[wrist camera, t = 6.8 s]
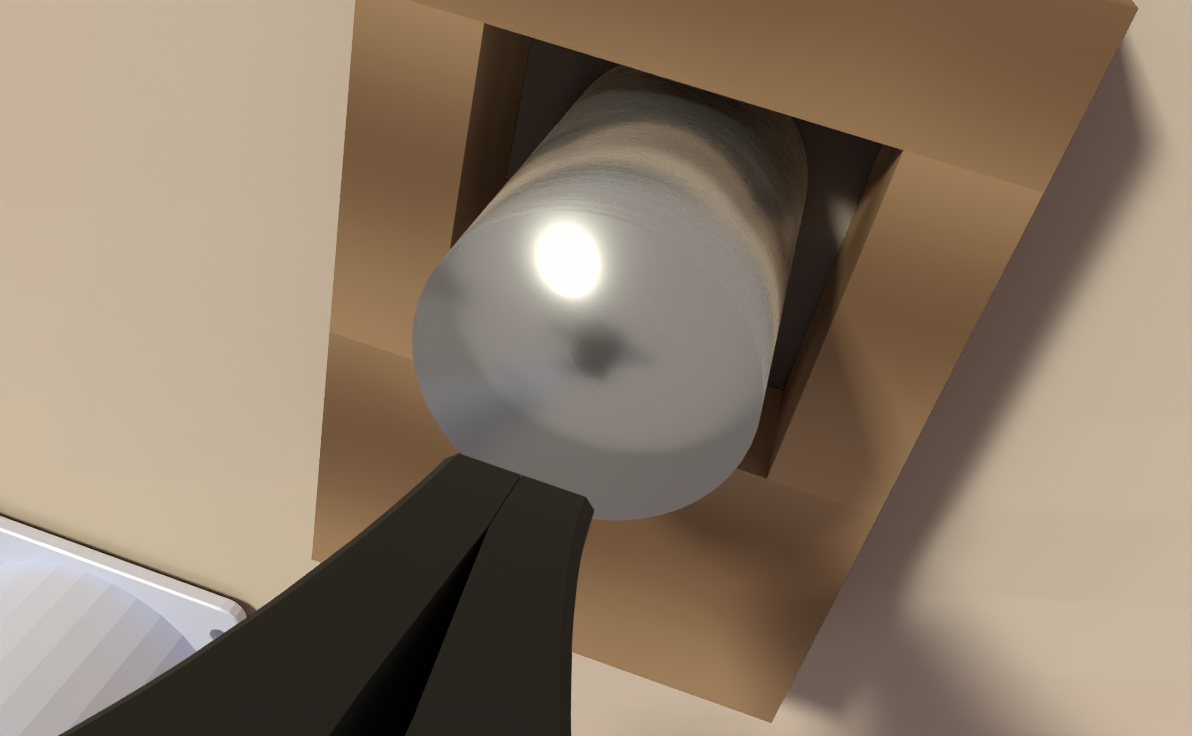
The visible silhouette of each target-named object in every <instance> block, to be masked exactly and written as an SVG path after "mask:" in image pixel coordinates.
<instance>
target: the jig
mask: <svg viewBox="0 0 1192 736" xmlns="http://www.w3.org/2000/svg"><path fill="white" fill-rule="evenodd" d="M1137 10H1138V8H1137V6H1136V5H1135V4H1134V2H1133V1H1132V0H356V2H355V15H354V28H353V40H352V53H351V66H350V79H349V92H348V104H347V117H346V130H345V143H344V155H343V168H342V181H341V194H340V206H339V219H338V232H337V245H336V258H335V270H334V283H333V296H332V309H331V321H330V334H329V347H328V360H327V372H326V385H325V398H324V411H323V424H322V436H321V449H320V462H319V475H318V487H317V500H316V513H315V526H314V538H313V551H312V559H313V560H316V561H319V562H321V563H322V562H323V561H325V560H326V559H327V558H329V557H330V556H331V555H333V554H334V553H335V552H336V551H338V550H339V549H340V548H342V547H343V546H344V545H346V544H347V543H348V542H350V541H351V540H352V539H353V538H355V537H356V536H357V535H358V534H359V533H361V532H362V531H363V530H364V529H366V528H367V527H368V526H369V525H370V524H372V523H373V522H374V521H375V520H377V519H378V518H379V517H380V516H381V515H383V514H384V513H385V512H386V511H387V510H389V509H390V508H391V507H392V506H393V505H394V504H396V503H397V502H398V501H399V500H400V499H401V498H403V497H404V496H405V495H406V494H407V493H408V492H409V491H411V490H412V489H413V488H414V487H415V486H416V485H417V484H418V483H420V482H421V481H422V480H423V479H424V478H425V477H426V476H427V475H428V474H429V473H431V472H432V471H433V470H434V469H435V468H436V467H437V466H438V465H439V464H440V463H441V462H442V461H443V460H444V459H445V458H448V457H450V456H453V455H455V454H458V453H460V452H459V451H458V450H457V449H456V447H455V446H454V445H453V444H452V443H451V442H450V440H449V439H448V438H447V436H446V435H445V434H444V432H443V431H442V430H441V428H440V427H439V425H438V424H437V422H436V420H435V418H434V417H433V415H432V413H431V412H430V410H429V408H428V406H427V403H426V401H425V399H424V397H423V394H422V392H421V389H420V386H419V382H418V379H417V376H416V373H415V367H414V360H413V354H412V329H413V321H414V314H415V311H416V307H417V304H418V300H419V297H420V295H421V292H422V290H423V288H424V286H425V284H426V282H427V280H428V278H429V277H430V275H431V274H432V272H433V271H434V269H435V268H436V266H437V265H438V264H439V262H440V261H441V260H442V259H443V257H444V256H445V255H446V254H447V253H448V252H449V250H450V249H451V248H452V247H453V246H454V244H455V243H456V242H457V241H458V240H459V239H460V237H461V236H462V235H463V234H464V233H465V232H466V230H467V229H468V228H469V227H470V226H471V224H472V223H473V222H474V221H475V220H476V219H477V217H478V216H479V215H480V214H481V213H482V212H483V210H484V209H485V208H486V207H487V206H488V204H489V203H490V202H491V201H492V200H493V199H494V197H495V196H496V195H497V194H498V193H499V191H500V190H501V189H502V188H503V187H504V185H505V180H506V174H507V169H508V163H509V157H510V152H511V146H512V141H513V135H514V129H515V124H516V118H517V113H518V107H519V102H520V96H521V90H522V85H523V79H524V74H525V68H526V62H527V57H528V51H529V46H530V40H531V37H532V38H535V39H538V40H542V41H545V42H548V43H552V44H555V45H558V46H562V47H565V48H568V49H571V50H575V51H578V52H581V53H585V54H588V55H591V56H595V57H598V58H601V59H604V60H608V61H611V62H614V63H618V64H621V65H624V66H627V67H631V68H634V69H637V70H641V71H644V72H647V73H651V74H654V75H657V76H660V77H664V78H667V79H670V80H674V81H677V82H680V83H684V84H687V85H690V86H693V87H697V88H700V89H703V90H707V91H710V92H713V93H716V94H720V95H723V96H726V97H730V98H733V99H736V100H740V101H743V102H746V103H749V104H753V105H756V106H759V107H763V108H766V109H769V110H773V111H776V112H779V113H782V114H786V115H789V116H792V117H796V118H799V119H802V120H805V121H809V122H812V123H815V124H819V125H822V126H825V127H829V128H832V129H835V130H838V131H842V132H845V133H848V134H852V135H855V136H858V137H862V138H865V139H868V140H871V141H875V142H878V143H881V144H882V146H881V148H880V151H879V153H878V156H877V158H876V161H875V163H874V166H873V168H872V171H871V173H870V176H869V178H868V181H867V183H866V186H865V188H864V191H863V193H862V196H861V198H860V201H859V203H858V206H857V208H856V211H855V213H854V216H853V218H852V220H851V223H850V225H849V228H848V230H847V233H846V235H845V238H844V240H843V243H842V245H841V248H840V250H839V253H838V255H837V258H836V260H835V263H834V265H833V268H832V270H831V273H830V275H829V278H828V280H827V283H826V285H825V288H824V290H823V293H822V295H821V298H820V300H819V303H818V305H817V308H816V310H815V313H814V315H813V318H812V320H811V323H810V325H809V328H808V330H807V333H806V335H805V337H804V340H803V342H802V345H801V347H800V350H799V352H798V355H797V357H796V360H795V362H794V365H793V367H792V370H791V372H790V375H789V377H788V380H787V382H786V385H785V387H784V390H783V391H782V390H779V389H776V388H773V387H770V386H767V387H766V392H765V396H764V401H763V406H762V411H761V415H760V420H759V425H758V428H757V431H756V434H755V436H754V439H753V441H752V444H751V446H750V448H749V450H748V451H747V453H746V455H745V456H744V458H743V460H742V461H741V463H740V464H739V465H738V466H737V468H736V469H735V470H734V471H733V472H732V474H731V475H730V476H729V477H728V478H727V479H726V480H725V481H724V482H722V483H721V484H720V485H719V486H718V487H717V488H716V489H715V490H713V491H712V492H710V493H709V494H707V495H706V496H704V497H703V498H701V499H700V500H698V501H696V502H694V503H692V504H689V505H687V506H685V507H683V508H681V509H678V510H675V511H672V512H669V513H666V514H663V515H659V516H654V517H649V518H644V519H634V520H622V521H619V520H596V519H592V521H591V524H590V528H589V531H588V535H587V538H586V541H585V545H584V548H583V552H582V556H581V561H580V568H579V575H578V581H577V591H576V600H575V610H574V621H573V638H572V652H574V653H577V654H579V655H582V656H585V657H588V658H591V659H593V660H596V661H599V662H602V663H605V664H607V665H610V666H613V667H616V668H619V669H621V670H624V671H627V672H630V673H633V674H635V675H638V676H641V677H644V678H647V679H649V680H652V681H655V682H658V683H661V684H663V685H666V686H669V687H672V688H675V689H677V690H680V691H683V692H686V693H689V694H691V695H694V696H697V697H700V698H703V699H706V700H708V701H711V702H714V703H717V704H720V705H722V706H725V707H728V708H731V709H734V710H736V711H739V712H742V713H745V714H748V715H750V716H753V717H756V718H759V719H762V720H764V721H767V722H770V723H772V721H773V719H774V717H775V715H776V713H777V711H778V709H779V707H780V705H781V703H782V701H783V699H784V697H785V695H786V693H787V691H788V690H789V688H790V686H791V684H792V682H793V680H794V678H795V676H796V674H797V672H798V670H799V668H800V666H801V664H802V662H803V660H804V658H805V656H806V655H807V653H808V651H809V649H810V647H811V645H812V643H813V641H814V639H815V637H816V635H817V633H818V631H819V629H820V627H821V625H822V623H823V621H824V619H825V618H826V616H827V614H828V612H829V610H830V608H831V606H832V604H833V602H834V600H835V598H836V596H837V594H838V592H839V590H840V588H841V586H842V584H843V583H844V581H845V579H846V577H847V575H848V573H849V571H850V569H851V567H852V565H853V563H854V561H855V559H856V557H857V555H858V553H859V551H860V549H861V548H862V546H863V544H864V542H865V540H866V538H867V536H868V534H869V532H870V530H871V528H872V526H873V524H874V522H875V520H876V518H877V516H878V514H879V512H880V511H881V509H882V507H883V505H884V503H885V501H886V499H887V497H888V495H889V493H890V491H891V489H892V487H893V485H894V483H895V481H896V479H897V477H898V476H899V474H900V472H901V470H902V468H903V466H904V464H905V462H906V460H907V458H908V456H909V454H910V452H911V450H912V448H913V446H914V444H915V442H916V440H917V439H918V437H919V435H920V433H921V431H922V429H923V427H924V425H925V423H926V421H927V419H928V417H929V415H930V413H931V411H932V409H933V407H934V405H935V404H936V402H937V400H938V398H939V396H940V394H941V392H942V390H943V388H944V386H945V384H946V382H947V380H948V378H949V376H950V374H951V372H952V370H953V368H954V367H955V365H956V363H957V361H958V359H959V357H960V355H961V353H962V351H963V349H964V347H965V345H966V343H967V341H968V339H969V337H970V335H971V333H972V332H973V330H974V328H975V326H976V324H977V322H978V320H979V318H980V316H981V314H982V312H983V310H984V308H985V306H986V304H987V302H988V300H989V298H990V296H991V295H992V293H993V291H994V289H995V287H996V285H997V283H998V281H999V279H1000V277H1001V275H1002V273H1003V271H1004V269H1005V267H1006V265H1007V263H1008V261H1009V260H1010V258H1011V256H1012V254H1013V252H1014V250H1015V248H1016V246H1017V244H1018V242H1019V240H1020V238H1021V236H1022V234H1023V232H1024V230H1025V228H1026V226H1027V224H1028V223H1029V221H1030V219H1031V217H1032V215H1033V213H1034V211H1035V209H1036V207H1037V205H1038V203H1039V201H1040V199H1041V197H1042V195H1043V193H1044V191H1045V189H1046V188H1047V186H1048V184H1049V182H1050V180H1051V178H1052V176H1053V174H1054V172H1055V170H1056V168H1057V166H1058V164H1059V162H1060V160H1061V158H1062V156H1063V154H1064V153H1065V151H1066V149H1067V147H1068V145H1069V143H1070V141H1071V139H1072V137H1073V135H1074V133H1075V131H1076V129H1077V127H1078V125H1079V123H1080V121H1081V119H1082V117H1083V116H1084V114H1085V112H1086V110H1087V108H1088V106H1089V104H1090V102H1091V100H1092V98H1093V96H1094V94H1095V92H1096V90H1097V88H1098V86H1099V84H1100V82H1101V81H1102V79H1103V77H1104V75H1105V73H1106V71H1107V69H1108V67H1109V65H1110V63H1111V61H1112V59H1113V57H1114V55H1115V53H1116V51H1117V49H1118V47H1119V45H1120V44H1121V42H1122V40H1123V38H1124V36H1125V34H1126V32H1127V30H1128V28H1129V26H1130V24H1131V22H1132V20H1133V18H1134V16H1135V14H1136V12H1137ZM460 454H461V453H460Z"/></svg>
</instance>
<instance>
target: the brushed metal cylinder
mask: <svg viewBox="0 0 1192 736" xmlns="http://www.w3.org/2000/svg"><path fill="white" fill-rule="evenodd" d="M807 186H808V169H807V159H806V154H805V150H804V145H803V142H802V139H801V136H800V134H799V131H798V128H797V126H796V125H795V123H794V121H793V119H792V117H791V116H789V115H786V114H782V113H779V112H776V111H773V110H769V109H766V108H763V107H759V106H756V105H753V104H749V103H746V102H743V101H740V100H736V99H733V98H730V97H726V96H723V95H720V94H716V93H713V92H710V91H707V90H703V89H700V88H697V87H693V86H690V85H687V84H684V83H680V82H677V81H674V80H670V79H667V78H664V77H660V76H657V75H654V74H651V73H647V72H644V71H641V70H637V69H634V68H631V67H627V66H624V65H621V64H619V65H617V66H615V67H613V68H612V69H610V70H608V71H607V72H605V73H604V74H603V75H602V76H600V77H599V78H598V79H597V80H595V81H594V82H593V83H592V84H591V85H590V86H589V87H588V88H587V89H586V90H585V91H584V93H583V94H582V95H581V96H580V97H579V98H578V100H577V101H576V102H575V103H574V104H573V105H572V107H571V108H570V109H569V110H568V111H567V113H566V114H565V115H564V116H563V117H562V118H561V120H560V121H559V122H558V123H557V124H556V125H555V127H554V128H553V129H552V130H551V131H550V133H549V134H548V135H547V136H546V137H545V138H544V140H543V141H542V142H541V143H540V144H539V146H538V147H537V148H536V149H535V150H534V151H533V153H532V154H531V155H530V156H529V157H528V158H527V160H526V161H525V162H524V163H523V164H522V166H521V167H520V168H519V169H518V170H517V171H516V173H515V174H514V175H513V176H512V177H511V179H510V180H509V181H508V182H507V183H506V184H505V186H504V187H503V188H502V189H501V190H500V191H499V193H498V194H497V195H496V196H495V197H494V199H493V200H492V201H491V202H490V203H489V204H488V206H487V207H486V208H485V209H484V210H483V212H482V213H481V214H480V215H479V216H478V217H477V219H476V220H475V221H474V222H473V223H472V224H471V226H470V227H469V228H468V229H467V230H466V232H465V233H464V234H463V235H462V236H461V237H460V239H459V240H458V241H457V242H456V243H455V244H454V246H453V247H452V248H451V249H450V250H449V252H448V253H447V254H446V255H445V256H444V257H443V259H442V260H441V261H440V262H439V264H438V265H437V266H436V268H435V269H434V271H433V272H432V274H431V275H430V277H429V278H428V280H427V282H426V284H425V286H424V288H423V290H422V292H421V295H420V297H419V300H418V304H417V307H416V311H415V314H414V321H413V329H412V354H413V360H414V367H415V373H416V376H417V379H418V382H419V386H420V389H421V392H422V394H423V397H424V399H425V401H426V403H427V406H428V408H429V410H430V412H431V413H432V415H433V417H434V418H435V420H436V422H437V424H438V425H439V427H440V428H441V430H442V431H443V432H444V434H445V435H446V436H447V438H448V439H449V440H450V442H451V443H452V444H453V445H454V446H455V447H456V449H457V450H458V451H459V452H460V453H461V454H462V455H465V456H468V457H471V458H474V459H477V460H480V461H483V462H486V463H489V464H492V465H495V466H498V467H500V468H503V469H506V470H509V471H512V472H515V473H518V474H521V476H522V475H524V476H527V477H530V478H533V479H535V480H538V481H541V482H544V483H547V484H550V485H553V486H556V487H559V488H562V489H565V490H568V491H570V492H573V493H576V494H579V495H582V496H585V497H586V498H587V499H588V501H589V502H590V504H591V506H592V507H593V509H594V510H595V511H594V514H593V517H592V519H596V520H619V521H622V520H634V519H644V518H649V517H654V516H659V515H663V514H666V513H669V512H672V511H675V510H678V509H681V508H683V507H685V506H687V505H689V504H692V503H694V502H696V501H698V500H700V499H701V498H703V497H704V496H706V495H707V494H709V493H710V492H712V491H713V490H715V489H716V488H717V487H718V486H719V485H720V484H721V483H722V482H724V481H725V480H726V479H727V478H728V477H729V476H730V475H731V474H732V472H733V471H734V470H735V469H736V468H737V466H738V465H739V464H740V463H741V461H742V460H743V458H744V456H745V455H746V453H747V451H748V450H749V448H750V446H751V444H752V441H753V439H754V436H755V434H756V431H757V428H758V425H759V420H760V415H761V411H762V406H763V401H764V396H765V392H766V387H767V382H768V377H769V372H770V368H771V363H772V358H773V353H774V348H775V344H776V339H777V334H778V329H779V325H780V320H781V315H782V310H783V305H784V301H785V296H786V291H787V286H788V281H789V277H790V272H791V267H792V262H793V258H794V253H795V248H796V243H797V238H798V234H799V229H800V224H801V219H802V214H803V210H804V205H805V200H806V195H807Z"/></svg>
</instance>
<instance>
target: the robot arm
mask: <svg viewBox="0 0 1192 736" xmlns="http://www.w3.org/2000/svg"><path fill="white" fill-rule="evenodd" d="M594 511H595V510H594V509H593V507H592V506H591V504H590V502H589V501H588V499H587V498H586V497H585V496H582V495H579V494H576V493H573V492H570V491H568V490H565V489H562V488H559V487H556V486H553V485H550V484H547V483H544V482H541V481H538V480H535V479H533V478H530V477H527V476H524V475H522V476H521V474H518V473H515V472H512V471H509V470H506V469H503V468H500V467H498V466H495V465H492V464H489V463H486V462H483V461H480V460H477V459H474V458H471V457H468V456H465V455H462V454H460V453H458V454H455V455H453V456H450V457H448V458H445V459H444V460H443V461H442V462H441V463H440V464H439V465H438V466H437V467H436V468H435V469H434V470H433V471H432V472H431V473H429V474H428V475H427V476H426V477H425V478H424V479H423V480H422V481H421V482H420V483H418V484H417V485H416V486H415V487H414V488H413V489H412V490H411V491H409V492H408V493H407V494H406V495H405V496H404V497H403V498H401V499H400V500H399V501H398V502H397V503H396V504H394V505H393V506H392V507H391V508H390V509H389V510H387V511H386V512H385V513H384V514H383V515H381V516H380V517H379V518H378V519H377V520H375V521H374V522H373V523H372V524H370V525H369V526H368V527H367V528H366V529H364V530H363V531H362V532H361V533H359V534H358V535H357V536H356V537H355V538H353V539H352V540H351V541H350V542H348V543H347V544H346V545H344V546H343V547H342V548H340V549H339V550H338V551H336V552H335V553H334V554H333V555H331V556H330V557H329V558H327V559H326V560H325V561H323V562H322V563H321V564H319V565H318V566H317V567H315V568H314V569H313V570H311V571H310V572H309V573H308V574H306V575H305V576H304V577H302V578H301V579H300V580H298V581H297V582H296V583H294V584H293V585H292V586H290V587H289V588H288V589H286V590H285V591H284V592H282V593H281V594H280V595H278V596H277V597H275V598H274V599H273V600H271V601H270V602H268V603H267V604H266V605H264V606H263V607H261V608H260V609H258V610H257V611H255V612H254V613H252V614H251V615H249V616H248V617H246V613H245V611H244V610H243V609H242V607H241V606H240V605H238V604H237V603H236V602H234V601H232V600H230V599H228V598H225V597H222V596H220V595H217V594H214V593H211V592H209V591H206V590H203V589H200V588H198V587H195V586H192V585H189V584H187V583H184V582H181V581H178V580H176V579H173V578H170V577H167V576H165V575H162V574H159V573H156V572H154V571H151V570H148V569H145V568H143V567H140V566H137V565H134V564H132V563H129V562H126V561H123V560H121V559H118V558H115V557H112V556H110V555H107V554H104V553H101V552H98V551H96V550H93V549H90V548H87V547H85V546H82V545H79V544H76V543H74V542H71V541H68V540H65V539H63V538H60V537H57V536H54V535H52V534H49V533H46V532H43V531H41V530H38V529H35V528H32V527H30V526H27V525H24V524H21V523H19V522H16V521H13V520H10V519H8V518H5V517H2V516H0V736H571V671H572V638H573V621H574V610H575V600H576V591H577V581H578V575H579V568H580V561H581V556H582V552H583V548H584V545H585V541H586V538H587V535H588V531H589V528H590V524H591V521H592V517H593V514H594Z"/></svg>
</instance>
